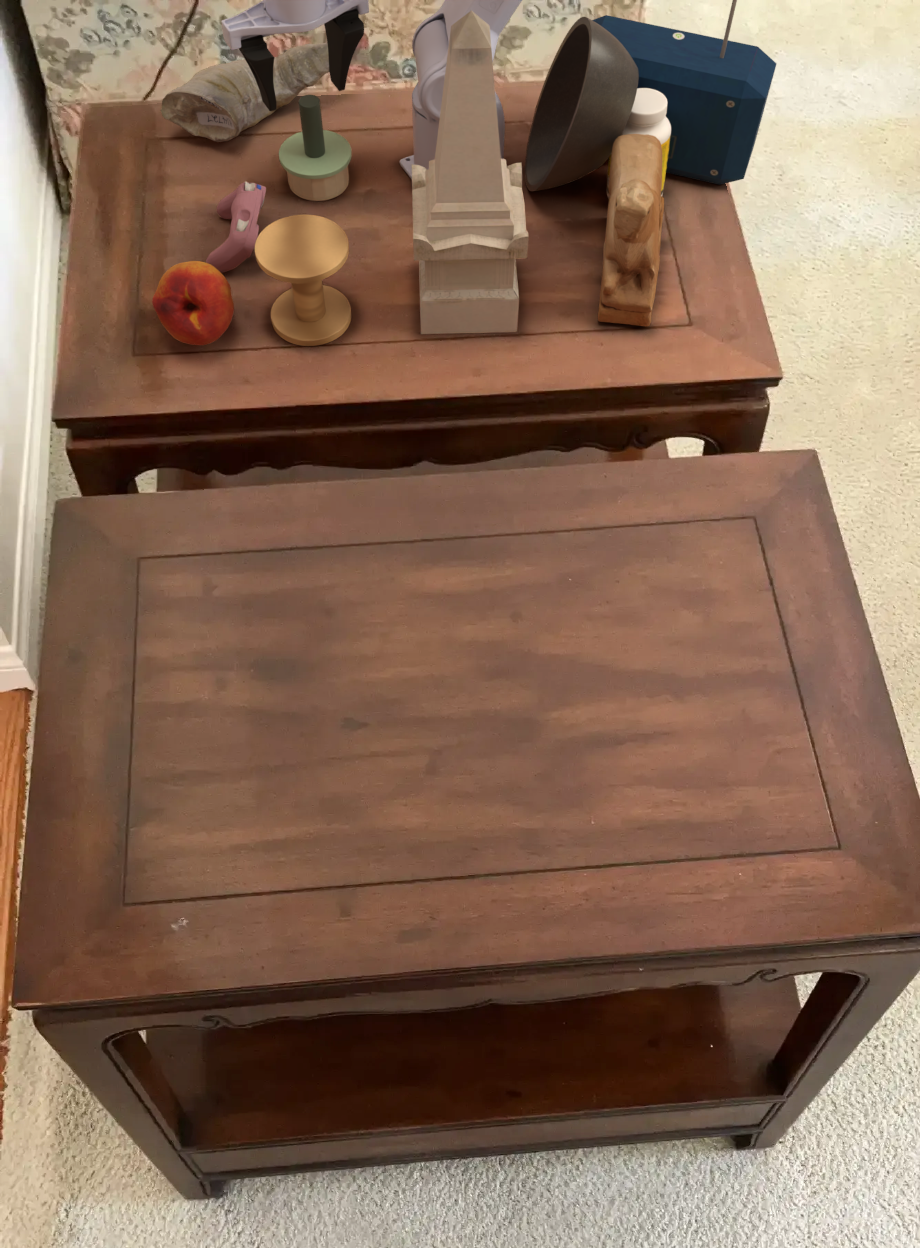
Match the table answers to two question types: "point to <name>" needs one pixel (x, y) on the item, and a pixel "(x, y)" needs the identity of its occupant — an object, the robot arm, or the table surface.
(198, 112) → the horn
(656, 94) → the pill bottle
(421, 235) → the miniature monument
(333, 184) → the dish
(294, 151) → the cover
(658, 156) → the sculpture
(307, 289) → the stand
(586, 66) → the bowl
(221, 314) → the fruit
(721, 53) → the radio
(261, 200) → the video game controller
